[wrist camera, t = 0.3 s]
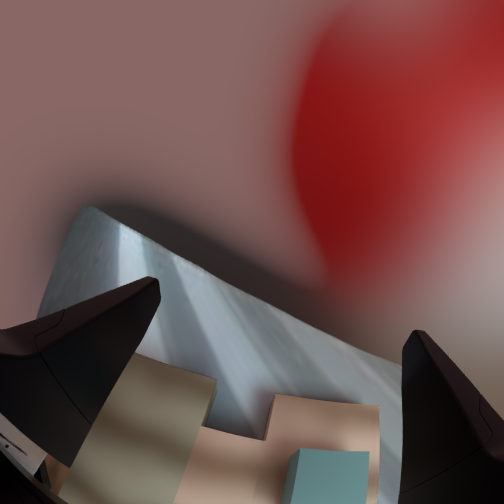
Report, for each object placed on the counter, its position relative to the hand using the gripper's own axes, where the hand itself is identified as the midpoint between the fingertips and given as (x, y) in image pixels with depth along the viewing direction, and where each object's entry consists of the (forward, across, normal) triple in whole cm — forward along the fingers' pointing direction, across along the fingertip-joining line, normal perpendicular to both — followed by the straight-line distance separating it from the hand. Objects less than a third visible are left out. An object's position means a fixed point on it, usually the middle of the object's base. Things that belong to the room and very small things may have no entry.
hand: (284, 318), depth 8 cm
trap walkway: (-2, +2, +17) cm, 17 cm away
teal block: (-2, -6, +15) cm, 16 cm away
